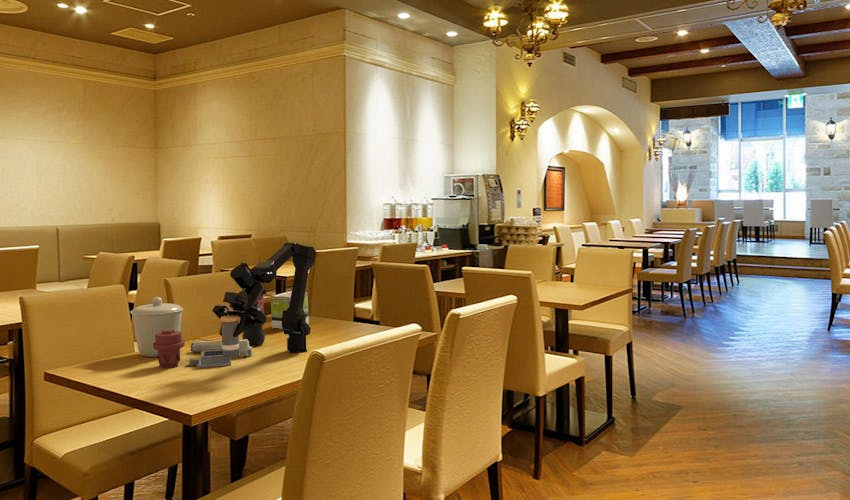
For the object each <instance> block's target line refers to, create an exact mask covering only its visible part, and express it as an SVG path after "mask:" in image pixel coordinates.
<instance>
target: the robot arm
mask: <svg viewBox="0 0 850 500" xmlns="http://www.w3.org/2000/svg"><path fill="white" fill-rule="evenodd" d="M316 256H317V251H316V249H315V248H314V247H313V246H311V245H310V246H307V245H303V244H300V243H299V242H298V243H297V242H295V241H294V242H290V241H289V242H288V241H287V242H285V243H283V245H282V246H281V248H279V249H278V250H277V251H276V252H275V253H273V255H271V256H270V257H269V258H268V259H267V260H266V261H262V262H260V263H257V264H256V265H253V266H252V267H249V264H248V263H247V262H241V263H240V264H239V265H237V266H235V267H234V268H233V269H231V271H230V273H229V276H230V278H231V279H232V281H233V282H234V283H235V284H236V285H237V286H238V287H239V288H240V289H241V291H239V292H234V291H233V292H232V291H225V293H224V297H223V299H222V302H223V303H226V304H227V303H228V304H229V305H228V306H229V307H230V308H231V309H229V308H228V306H227V305H222V304H215V305H214V307H213V309H212V310H211V311H212V313H214V315H215V316H216V317H217V318H218V319H219V321H221V317H222V316H228V315H236V316H239V321H238V325H237V327H236V329H235V331H234V334H233V337H237V336H238V335H239V336H240V335H241V334H243V332H244V331H245V330H247V329H249V328H250V327H252V326H255V325H256V323H257V324H262V325H265V323H266V321H267V316H266V315H265V312H264V313H263V312H262V311H261V309H260V308H253V307H257V306H258V305H257V303H256V302H257V300H258V298H259V297H260V295H261V294H264V295H267V293H268V292H267V289H266V286H263V284H270V283H272V282H273V280H275V278H276V276H277V271H278V270H279V269H280V268H281V267H282V266H283V265H284V264H286V262H288V261H289V260H290V259H292V260H291V261H292V264H293V267H294V274H293V275H294V276H293V279H292V280H293V281H292V288H291V292H292V293H291V299H290V305H289V308H288V309H287V310H284V311H283V313H282V319H281V321H282V328H283V329H282V330H283V331H282V332H283V334H284V335H287V338H286V351H288V353H291V354H292V353H304V352H305V353H306V352H308V349H307V336H309V335H310V334H311V327H310V325H309V323H308V324H307V323H306V315H305V313H304V310H303V304H304V297H305V292H306V291H307V283H308V277H309V271H310V269H311V268H312V267H313V265H314V264H315V260H316ZM250 268H252V269H250ZM243 288H244V290H243V292H242V289H243ZM255 322H256V323H255ZM219 335H220V336H221V337H222V325H221V324H220V329H219Z"/></svg>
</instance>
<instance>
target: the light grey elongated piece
mask: <svg viewBox="0 0 850 500" xmlns="http://www.w3.org/2000/svg"><path fill="white" fill-rule="evenodd" d="M212 350H222V340H220V341H218V340H217V341H215V340H213V341H212V340H211V341H207V340H206V341H204V340H199V341H195V342H192V343H191V344H190V351H191V352H192V353H200V354H201V352H202V351H212ZM252 350H253V346H250V345H249V341H248V340H247V339H244V340H243V339H240V340H239V355H238V356H236V357H238V358H243V357H245V356H246V357H250V356H252V355H253V351H252Z"/></svg>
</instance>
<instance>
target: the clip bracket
mask: <svg viewBox="0 0 850 500" xmlns="http://www.w3.org/2000/svg"><path fill="white" fill-rule="evenodd" d="M231 358H232V357H223V355H222V350H212V351H202V352H201V353H200V357H193V358H191V357H190V358H189V360H188V363H189V364H188V365H189V367H196V369H201V368H202V369H203V368H215V367H216V368H217V367H227V366H232V359H231Z"/></svg>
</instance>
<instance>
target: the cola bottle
mask: <svg viewBox="0 0 850 500" xmlns="http://www.w3.org/2000/svg"><path fill="white" fill-rule="evenodd" d="M249 268H250V269H252V268H253V267H249ZM243 290H244V288H243V289H242V288H241V291H242V292H243ZM264 295H265V294H261V295H260V297H259V298H258V300H257V302H256V303H257V305H258V306H257V307H253V308H260V309H261V311H262V312H263V313H264V314H265V304H264V301H265V299H264ZM255 323H256V322H255ZM263 327H264V326H263V325H262V324H257V323H256V325H255V326H252V327H250V328H249V329H247V330H245V331H244V332H243V333H242V340H244V339H247V340H248V341H249V345H250V347H259V346H261V345H263V344H264V343H265V339H266V334H265V330H264V328H263Z"/></svg>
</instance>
